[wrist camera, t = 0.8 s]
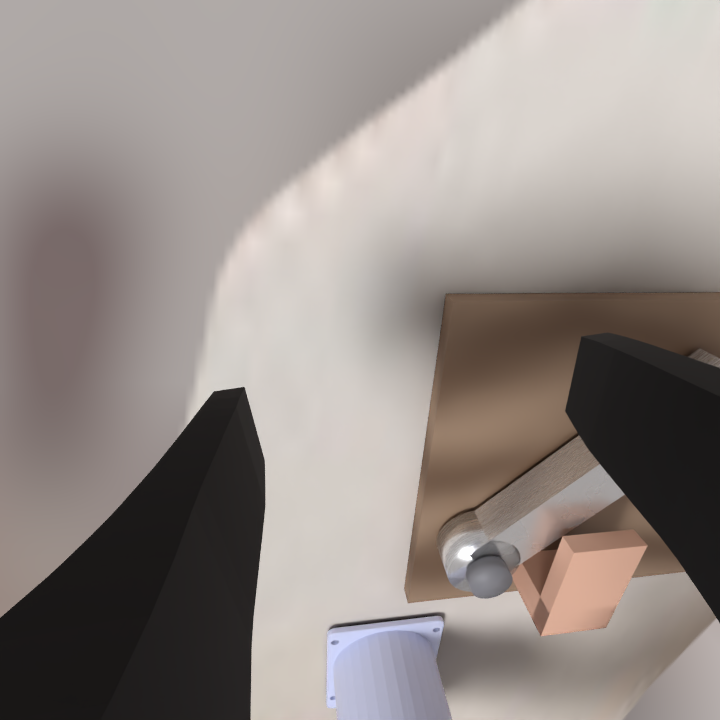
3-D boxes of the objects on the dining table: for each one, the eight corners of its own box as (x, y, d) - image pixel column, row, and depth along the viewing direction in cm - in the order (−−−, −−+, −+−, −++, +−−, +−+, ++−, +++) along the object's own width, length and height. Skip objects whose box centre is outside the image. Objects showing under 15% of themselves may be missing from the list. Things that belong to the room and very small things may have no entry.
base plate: (675, 559, 31) (686, 571, 30) (404, 588, 28) (407, 603, 27) (826, 291, 22) (848, 298, 21) (445, 293, 19) (453, 301, 18)
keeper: (440, 582, 27) (461, 646, 23) (456, 501, 24) (484, 562, 20) (568, 568, 28) (605, 627, 25) (599, 490, 25) (647, 545, 22)
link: (462, 569, 26) (475, 600, 24) (422, 540, 24) (432, 572, 22) (722, 390, 22) (759, 412, 20) (696, 341, 20) (734, 361, 19)
